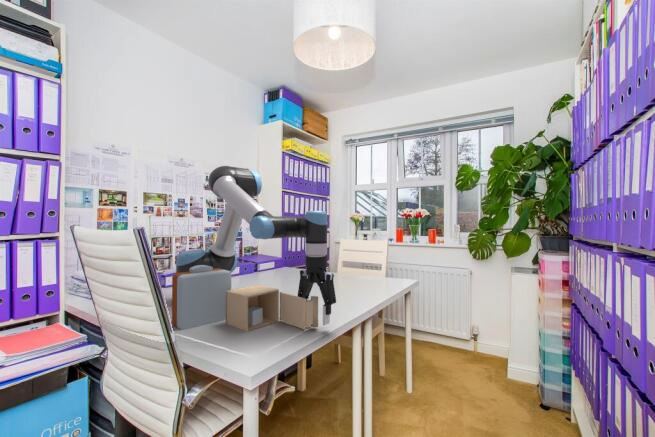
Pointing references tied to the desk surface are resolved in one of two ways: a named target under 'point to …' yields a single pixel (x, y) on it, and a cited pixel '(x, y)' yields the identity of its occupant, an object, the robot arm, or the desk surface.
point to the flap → (299, 310)
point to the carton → (251, 297)
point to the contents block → (255, 315)
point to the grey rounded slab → (199, 296)
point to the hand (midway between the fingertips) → (316, 321)
